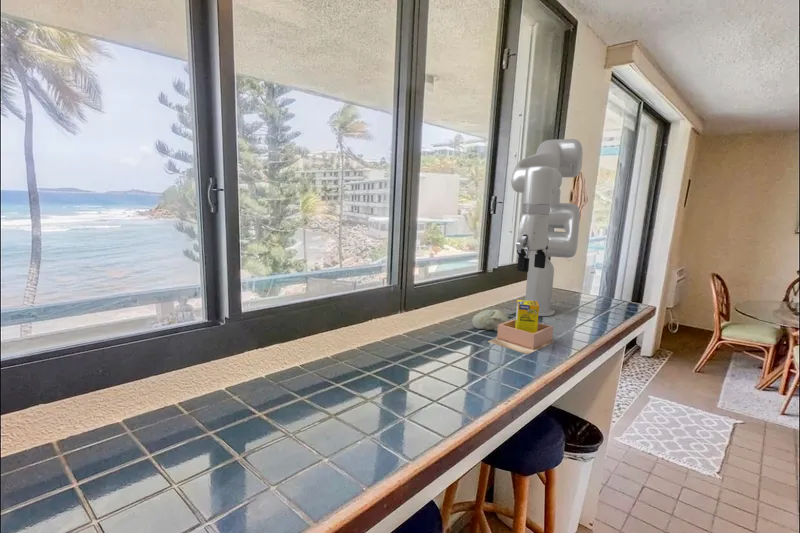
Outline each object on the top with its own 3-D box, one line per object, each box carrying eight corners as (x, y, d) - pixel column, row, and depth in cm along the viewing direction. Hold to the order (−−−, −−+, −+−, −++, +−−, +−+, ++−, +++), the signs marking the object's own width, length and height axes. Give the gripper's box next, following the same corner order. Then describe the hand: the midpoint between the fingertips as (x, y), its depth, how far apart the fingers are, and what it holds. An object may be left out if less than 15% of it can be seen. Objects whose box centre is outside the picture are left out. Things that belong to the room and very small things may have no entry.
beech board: (515, 334, 130) (515, 330, 130) (554, 345, 121) (554, 341, 121) (486, 345, 119) (487, 341, 119) (527, 358, 110) (527, 354, 110)
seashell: (468, 309, 131) (483, 300, 138) (466, 331, 133) (480, 321, 141) (506, 321, 123) (519, 310, 131) (503, 344, 126) (516, 332, 133)
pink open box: (517, 331, 130) (518, 317, 129) (551, 341, 121) (553, 326, 121) (497, 339, 122) (498, 324, 121) (532, 350, 113) (534, 334, 113)
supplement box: (536, 342, 118) (539, 305, 116) (515, 340, 119) (518, 304, 118) (534, 335, 124) (537, 300, 122) (514, 333, 125) (516, 299, 123)
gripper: (538, 209, 125) (533, 264, 128) (508, 210, 113) (504, 270, 116) (562, 211, 119) (556, 268, 122) (533, 211, 107) (528, 275, 110)
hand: (531, 269), depth 119 cm, fingers open, 9 cm apart
